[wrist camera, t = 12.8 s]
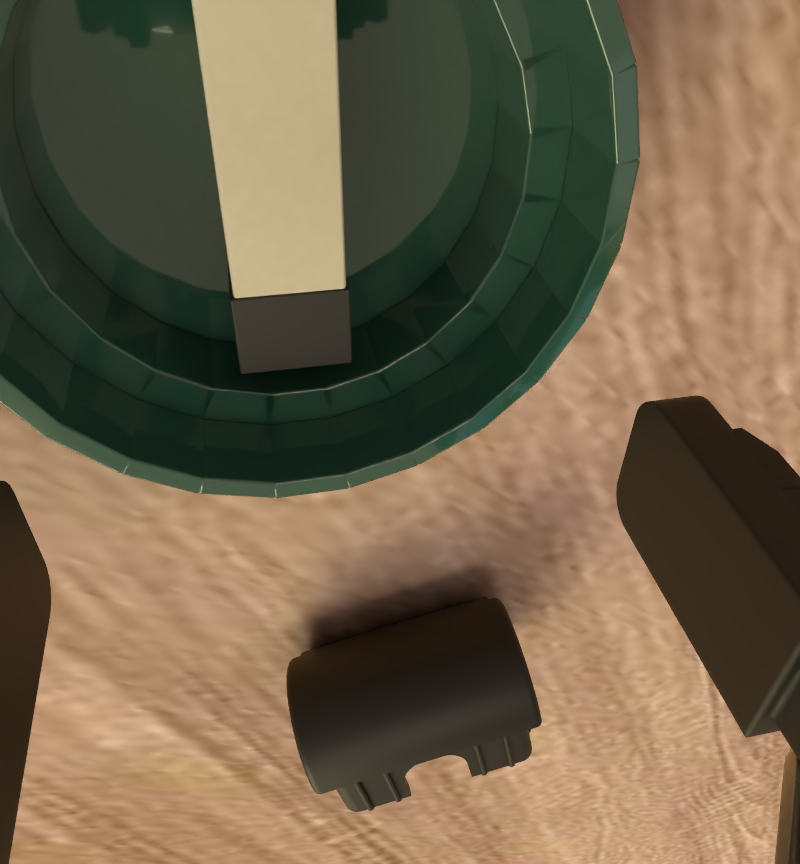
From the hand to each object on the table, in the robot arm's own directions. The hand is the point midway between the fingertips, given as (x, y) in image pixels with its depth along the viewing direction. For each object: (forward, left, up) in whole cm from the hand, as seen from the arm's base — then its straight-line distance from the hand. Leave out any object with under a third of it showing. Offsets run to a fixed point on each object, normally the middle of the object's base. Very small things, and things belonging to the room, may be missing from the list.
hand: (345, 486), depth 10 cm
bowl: (0, 0, -15) cm, 15 cm away
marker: (+1, 0, -14) cm, 14 cm away
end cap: (+24, +4, -15) cm, 29 cm away
